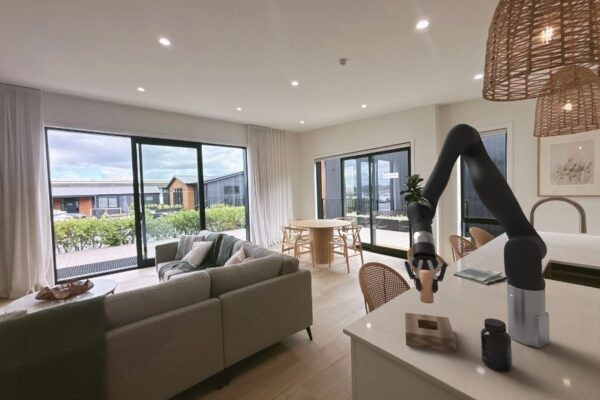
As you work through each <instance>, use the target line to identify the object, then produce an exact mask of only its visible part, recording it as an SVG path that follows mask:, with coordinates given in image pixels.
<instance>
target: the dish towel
mask: <svg viewBox="0 0 600 400" xmlns="http://www.w3.org/2000/svg"><path fill="white" fill-rule="evenodd" d="M502 274H503V272H501V271H494V270H490V269H484V268H478V267H470V268H467V269H463V270H460V271H457V272H455V273H453V276H454V277H456V278H457V277H458V278H461V279H464V280H467V281H471V282H474V283H478V284H481V285H484V286H487V285H491V284H496V283H499V282H502V281H504V280H507V277H506V275H502Z"/></svg>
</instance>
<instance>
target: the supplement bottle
mask: <svg viewBox="0 0 600 400" xmlns="http://www.w3.org/2000/svg"><path fill="white" fill-rule="evenodd" d="M483 325H484V328H481V330H480V349H481V350H480V351H481V361H482V362H483V364H484V365H485V366H486V367H488V368H489V369H491V370H494V371H496V372H501V373H502V372H503V373H507V372H510V371H511V370H512V369H513V352H512V351H513V349H512V338H511V337H510V335H509V334H508V331H507V325H506V323H505V322H504V321H503V320H500V319H498V318H492V317H490V318H484V324H483Z"/></svg>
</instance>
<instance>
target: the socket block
mask: <svg viewBox="0 0 600 400" xmlns="http://www.w3.org/2000/svg"><path fill="white" fill-rule="evenodd" d="M404 314H405V316H404V318H405V319H404V320H405V324H404V325H405V345H407V346H412V347H420V348H425V349H433V350H439V351H446V352H451V353H457V339H456V336H455V332H454V330H453V327H452V325H451V322H450V318H449V316H448V317H447V316H438V315H432V314H431V315H429V314H422V313H421V314H420V313H411V312H405V313H404Z"/></svg>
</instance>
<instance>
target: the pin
mask: <svg viewBox="0 0 600 400" xmlns="http://www.w3.org/2000/svg"><path fill="white" fill-rule="evenodd" d="M419 273H420V287H421V292H419V294H420V295H419V298H420V299H419V301H420V302H422V303H424V304H434V303H435V302H434V300H435V299H434V297H435V296H434V293H433V272H432V271H431V270H420V271H419Z"/></svg>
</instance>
